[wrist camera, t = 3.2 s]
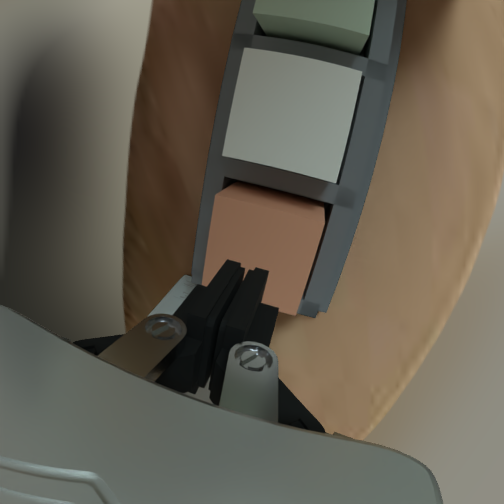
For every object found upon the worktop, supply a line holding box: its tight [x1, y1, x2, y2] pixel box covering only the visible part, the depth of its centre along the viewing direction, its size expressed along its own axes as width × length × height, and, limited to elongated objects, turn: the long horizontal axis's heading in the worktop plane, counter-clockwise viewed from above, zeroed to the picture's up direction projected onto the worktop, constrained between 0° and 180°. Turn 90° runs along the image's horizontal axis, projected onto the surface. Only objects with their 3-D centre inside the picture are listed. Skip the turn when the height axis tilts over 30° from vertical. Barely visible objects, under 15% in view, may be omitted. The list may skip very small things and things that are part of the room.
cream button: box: [222, 48, 362, 183], centre depth 13 cm, size 5×5×4 cm
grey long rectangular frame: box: [191, 0, 407, 318], centre depth 16 cm, size 24×10×4 cm, turn 168°
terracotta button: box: [202, 181, 325, 316], centre depth 16 cm, size 5×5×4 cm
